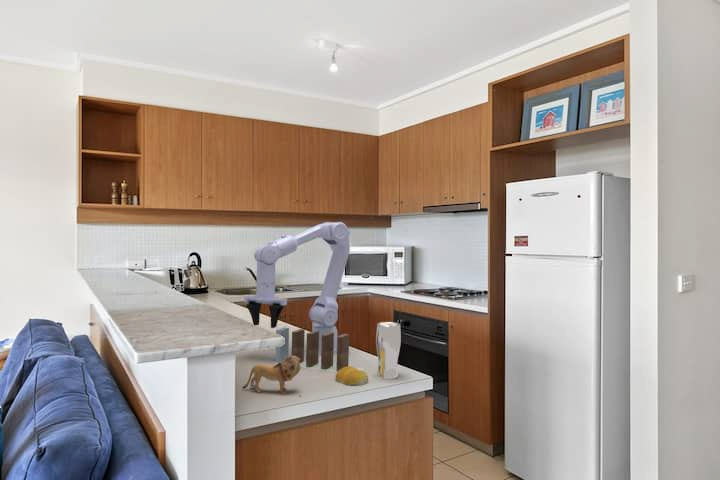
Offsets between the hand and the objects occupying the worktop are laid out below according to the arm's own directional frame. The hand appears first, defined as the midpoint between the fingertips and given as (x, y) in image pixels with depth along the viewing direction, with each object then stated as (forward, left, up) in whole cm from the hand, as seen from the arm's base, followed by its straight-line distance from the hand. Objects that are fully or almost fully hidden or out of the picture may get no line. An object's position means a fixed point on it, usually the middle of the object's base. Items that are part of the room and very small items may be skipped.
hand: (264, 326), depth 155 cm
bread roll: (+9, +34, -11) cm, 36 cm away
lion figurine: (+24, +19, -11) cm, 33 cm away
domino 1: (0, +7, -10) cm, 12 cm away
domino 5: (0, +27, -10) cm, 29 cm away
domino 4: (0, +22, -10) cm, 24 cm away
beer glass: (0, +41, -11) cm, 42 cm away
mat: (0, +19, -10) cm, 22 cm away
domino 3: (0, +17, -10) cm, 20 cm away
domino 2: (0, +12, -10) cm, 16 cm away
